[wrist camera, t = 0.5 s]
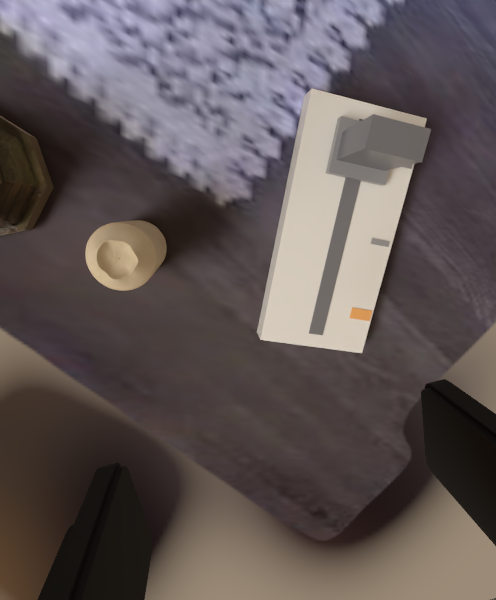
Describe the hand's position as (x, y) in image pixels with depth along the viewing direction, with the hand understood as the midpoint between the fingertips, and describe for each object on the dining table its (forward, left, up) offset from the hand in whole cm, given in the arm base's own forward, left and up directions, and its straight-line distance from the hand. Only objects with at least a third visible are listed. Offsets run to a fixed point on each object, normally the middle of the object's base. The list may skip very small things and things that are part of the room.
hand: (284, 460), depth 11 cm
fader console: (-7, +11, -29) cm, 31 cm away
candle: (-2, -9, -29) cm, 30 cm away
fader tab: (-15, +10, -26) cm, 32 cm away
